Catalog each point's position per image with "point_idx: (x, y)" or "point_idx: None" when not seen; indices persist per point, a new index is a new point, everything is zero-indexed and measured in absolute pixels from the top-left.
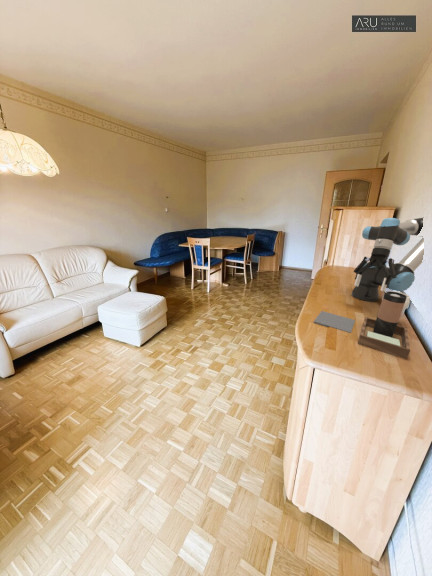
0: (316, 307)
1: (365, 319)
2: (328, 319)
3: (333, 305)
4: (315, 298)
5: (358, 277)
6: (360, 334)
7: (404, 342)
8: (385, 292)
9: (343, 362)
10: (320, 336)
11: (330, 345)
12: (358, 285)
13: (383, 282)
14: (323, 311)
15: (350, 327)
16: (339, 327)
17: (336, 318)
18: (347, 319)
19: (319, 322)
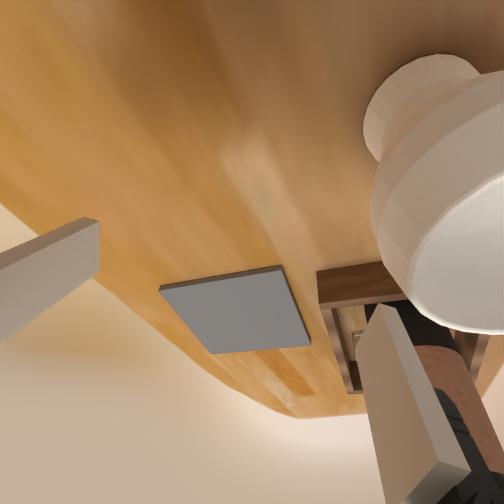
0: (112, 263)
1: (328, 321)
2: (223, 325)
3: (104, 174)
4: None
5: (12, 325)
6: (347, 392)
7: (467, 345)
8: (401, 278)
9: (341, 407)
10: (267, 378)
11: (300, 389)
12: (91, 229)
13: (378, 435)
14: (165, 290)
15: (296, 325)
16: (274, 342)
17: (231, 305)
18: (259, 286)
19: (224, 351)
